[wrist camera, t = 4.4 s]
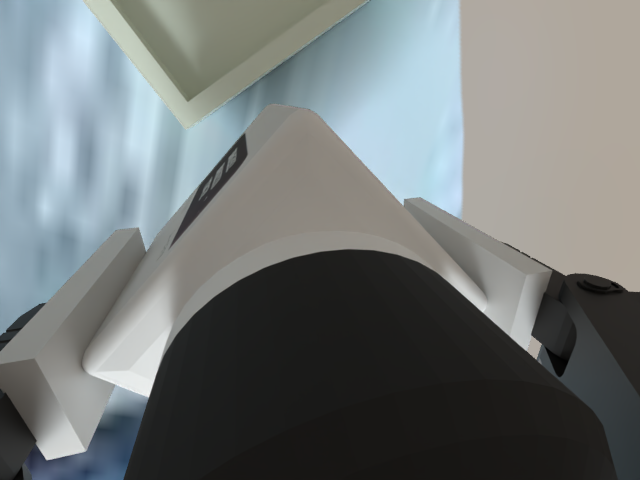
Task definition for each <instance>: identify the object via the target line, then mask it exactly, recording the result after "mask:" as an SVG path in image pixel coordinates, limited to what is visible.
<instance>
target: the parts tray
mask: <svg viewBox="0 0 640 480" xmlns="http://www.w3.org/2000/svg"><path fill="white" fill-rule="evenodd" d="M83 1H84V3H85V4H86V5H87V7H88V8H89V9H90V10H91V12H92V13H93V14H94V15H95V17H96V18H97V19H98V20H99V22H100V23H101V24H102V25H103V27H104V28H105V29H106V30H107V32H108V33H109V34H110V35H111V37H112V38H113V39H114V40H115V42H116V43H117V44H118V45H119V47H120V48H121V49H122V50H123V52H124V53H125V54H126V55H127V57H128V58H129V59H130V60H131V62H132V63H133V64H134V65H135V67H136V68H137V69H138V71H139V72H140V73H141V74H142V76H143V77H144V78H145V79H146V81H147V82H148V83H149V84H150V86H151V87H152V88H153V89H154V91H155V92H156V93H157V94H158V96H159V97H160V98H161V99H162V101H163V102H164V103H165V104H166V106H167V107H168V108H169V109H170V111H171V112H172V113H173V114H174V116H175V117H176V118H177V119H178V121H179V122H180V123H181V124H182V126H183V127H184V128H185V129H189V128H192V127H194V126H195V125H197V124H198V123H199V122H201V121H202V120H204V119H205V118H206V117H208V116H209V115H211V114H212V113H213V112H215V111H216V110H218V109H219V108H220V107H222V106H223V105H225V104H226V103H227V102H229V101H230V100H232V99H233V98H234V97H236V96H237V95H239V94H240V93H241V92H243V91H244V90H246V89H247V88H248V87H250V86H251V85H253V84H254V83H255V82H257V81H258V80H260V79H261V78H262V77H264V76H265V75H267V74H268V73H269V72H271V71H272V70H274V69H275V68H276V67H278V66H279V65H281V64H282V63H283V62H285V61H286V60H288V59H289V58H290V57H292V56H293V55H295V54H296V53H297V52H299V51H300V50H302V49H303V48H304V47H306V46H307V45H309V44H310V43H311V42H313V41H314V40H316V39H317V38H318V37H320V36H321V35H323V34H324V33H325V32H327V31H328V30H330V29H331V28H332V27H334V26H335V25H337V24H338V23H339V22H341V21H342V20H344V19H345V18H346V17H348V16H349V15H351V14H352V13H353V12H355V11H356V10H358V9H359V8H360V7H362V6H363V5H365V4H366V3H367V2H369V1H370V0H83Z"/></svg>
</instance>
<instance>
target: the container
mask: <svg viewBox="0 0 640 480" xmlns="http://www.w3.org/2000/svg"><path fill="white" fill-rule="evenodd" d="M487 301H488V300H487V298H486V296H485V294H484V293H483V291H482V290H481V289H480V288H479V287H478V286H477V285H476V284H475V283H474V282H473V280H472V279H471V278H470V277H469V276H468V275H467V274H466V273H465V272H464V271H463V270H462V269H461V268H460V266H459V265H458V264H457V263H456V262H455V261H454V260H453V259H452V258H451V257H450V256H449V255H448V254H447V253H446V251H445V250H444V249H443V248H442V247H441V246H440V245H439V244H438V243H437V242H436V241H435V240H434V239H433V238H432V236H431V235H430V234H429V233H428V232H427V231H426V230H425V229H424V228H423V227H422V226H421V225H420V224H419V222H418V221H417V220H416V219H415V218H414V217H413V216H412V215H411V214H410V213H409V212H408V211H407V210H406V209H405V207H404V206H403V205H402V204H401V203H400V202H399V201H398V200H397V199H396V198H395V197H394V196H393V195H392V193H391V192H390V191H389V190H388V189H387V188H386V187H385V186H384V185H383V184H382V183H381V182H380V181H379V180H378V178H377V177H376V176H375V175H374V174H373V173H372V172H371V171H370V170H369V169H368V168H367V167H366V166H365V164H364V163H363V162H362V161H361V160H360V159H359V158H358V157H357V156H356V155H355V154H354V153H353V152H352V151H351V149H350V148H349V147H348V146H347V145H346V144H345V143H344V142H343V141H342V140H341V139H340V138H339V137H338V135H337V134H336V133H335V132H334V131H333V130H332V129H331V128H330V127H329V126H328V125H327V124H326V123H325V122H324V120H323V119H322V118H321V117H320V116H319V115H318V114H316V113H314V112H313V111H311V110H310V109H305V108H298V107H292V106H286V105H279V104H269V105H268V106H266V107H265V108H264V109H263V110H262V112H261V113H260V114H259V115H258V116H257V117H256V119H255V120H254V121H253V122H252V123H251V125H250V126H249V127H248V128H247V129H246V130H245V132H244V133H243V134H242V135H241V136H240V138H239V139H238V140H237V141H236V142H235V143H234V145H233V146H232V147H231V148H230V149H229V150H228V152H227V153H226V154H225V155H224V156H223V158H222V159H221V160H220V161H219V162H218V163H217V165H216V166H215V167H214V168H213V169H212V171H211V172H210V173H209V174H208V175H207V176H206V178H205V179H204V180H203V181H202V182H201V184H200V185H199V186H198V187H197V188H196V189H195V191H194V192H193V193H192V194H191V195H190V196H189V198H188V199H187V200H186V201H185V202H184V204H183V205H182V206H181V207H180V208H179V209H178V211H177V212H176V213H175V214H174V215H173V217H172V218H171V219H170V220H169V221H168V222H167V224H166V225H165V226H164V227H163V228H162V229H161V231H160V232H159V233H158V234H157V236H156V238H155V239H154V241H153V242H152V244H151V246H150V247H149V249H148V250H147V252H146V254H145V255H144V257H143V258H142V260H141V262H140V263H139V265H138V267H137V268H136V270H135V271H134V273H133V275H132V276H131V278H130V279H129V281H128V283H127V284H126V286H125V288H124V289H123V291H122V292H121V294H120V296H119V297H118V299H117V300H116V302H115V304H114V305H113V307H112V308H111V310H110V312H109V313H108V315H107V317H106V318H105V320H104V321H103V323H102V325H101V326H100V328H99V329H98V331H97V333H96V334H95V336H94V337H93V339H92V341H91V342H90V344H89V346H88V347H87V349H86V350H85V353H84V355H83V359H82V366H83V369H84V370H85V371H86V372H87V373H89V374H90V375H92V376H95V377H97V378H100V379H102V380H105V381H108V382H110V383H113V384H115V385H118V386H121V387H123V388H126V389H128V390H131V391H134V392H136V393H139V394H141V395H144V396H146V397H149V399H148V402H147V406H146V409H145V412H144V415H143V418H142V422H141V425H140V428H139V431H138V435H137V438H136V441H135V444H134V447H133V451H132V454H131V457H130V460H129V464H128V467H127V470H126V473H125V476H124V480H618V478H617V474H616V471H615V467H614V463H613V459H612V456H611V452H610V448H609V444H608V441H607V437H606V434H605V430H604V427H603V424H602V423H601V421H600V420H599V419H598V417H597V416H596V414H595V413H594V411H593V410H592V409H591V408H590V407H589V406H588V405H586V404H585V403H584V402H583V401H582V400H581V399H580V398H579V397H577V396H576V395H575V394H574V393H573V392H572V391H571V390H570V389H568V388H567V387H566V386H565V385H564V384H563V383H562V382H561V381H559V380H558V379H557V378H556V377H555V376H554V375H553V374H551V373H550V372H549V371H548V370H547V369H546V368H545V367H544V366H542V365H541V364H540V363H539V362H538V361H537V360H536V359H535V358H533V357H532V356H531V355H530V354H529V353H528V352H527V351H526V350H524V349H523V348H522V347H521V346H520V345H519V344H518V343H517V342H515V341H514V340H513V339H512V338H511V337H510V336H509V335H508V334H506V333H505V332H504V331H503V330H502V329H501V328H500V327H499V326H497V325H496V324H495V323H494V322H493V321H492V320H491V319H490V318H488V317H487V316H486V315H485V314H484V313H483V311H484V310H485V309H486V306H487Z"/></svg>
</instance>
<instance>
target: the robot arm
mask: <svg viewBox="0 0 640 480" xmlns="http://www.w3.org/2000/svg"><path fill="white" fill-rule="evenodd" d="M404 207H405V209H406V210H407V211H408V212H409V213H410V214H411V215H412V216H413V217H414V218H415V219H416V220H417V221H418V222H419V224H420V225H421V226H422V227H423V228H424V229H425V230H426V231H427V232H428V233H429V234H430V235H431V236H432V238H433V239H434V240H435V241H436V242H437V243H438V244H439V245H440V246H441V247H442V248H443V249H444V250H445V251H446V253H447V254H448V255H449V256H450V257H451V258H452V259H453V260H454V261H455V262H456V263H457V264H458V265H459V266H460V268H461V269H462V270H463V271H464V272H465V273H466V274H467V275H468V276H469V277H470V278H471V279H472V280H473V282H474V283H475V284H476V285H477V286H478V287H479V288H480V289H481V290H482V291H483V293H484V294H485V296H486V298H487V300H488V301H487V306H486V309H485V310H484V311H483V313H484V314H485V315H486V316H487V317H488V318H490V319H491V320H492V321H493V322H494V323H495V324H496V325H497V326H499V327H500V328H501V329H502V330H503V331H504V332H505V333H506V334H508V335H509V336H510V337H511V338H512V339H513V340H514V341H515V342H517V343H518V344H519V345H520V346H521V347H522V348H523V349H524V350H526V351H527V349H528V346H529V343H530V339H531V336H533V337H534V338H536V339H537V340H538V341H539V342H540V343H542V345H541V348H540V351H539V354H538V357H537V361H538V362H539V363H540V364H541V365H542V366H544V367H545V368H546V369H547V370H548V371H549V372H550V373H551V374H553V375H554V376H555V377H556V378H557V379H558V380H559V381H561V382H562V383H563V384H564V385H565V386H566V387H567V388H568V389H570V390H571V391H572V392H573V393H574V394H575V395H576V396H577V397H579V398H580V399H581V400H582V401H583V402H584V403H585V404H586V405H588V406H589V407H590V408H591V409H592V410H593V411H594V413H595V414H596V416H597V417H598V419H599V420H600V421H601V423H602V424H603V427H604V430H605V434H606V437H607V441H608V444H609V448H610V452H611V456H612V459H613V463H614V467H615V471H616V474H617V478H618V480H640V292H628V291H627V290H626V289H625V288H623V287H622V286H621V285H619V284H618V283H616V282H613V281H611V280H608V279H605V278H602V277H599V276H594V275H589V274H576V273H575V274H570V275H567V276H565V275H563V274H561V273H559V272H558V271H556V270H554V269H552V268H550V267H549V266H546V265H545V264H543V263H541V262H539V261H538V260H536V259H534V258H530V256H528V255H527V254H525V253H523V252H520V251H519V250H518V249H515V248H514V247H512V246H510V245H508V244H506V243H503V242H500V241H498V240H496V239H494V238H492V237H491V236H489V235H487V234H485V233H483V232H482V231H480V230H478V229H476V228H475V227H473V226H471V225H469V224H467V223H465V222H464V221H462V220H460V219H458V218H457V217H455V216H453V215H451V214H449V213H448V212H446V211H444V210H442V209H440V208H439V207H437V206H435V205H433V204H431V203H430V202H428V201H426V200H424V199H422V198H420V197H419V198H410V199H404ZM145 254H146V250H145V247H144V243H143V240H142V237H141V233H140V230H139V228H129V229H120V230H116V231H115V232H114V233H113V234H112V235H111V236H110V237H109V238H108V239H107V240H106V241H105V242H104V243H103V244H102V245H101V246H100V248H99V249H98V250H97V251H96V252H95V253H94V254H93V255H92V256H91V257H90V258H89V259H88V260H87V261H86V262H85V263H84V264H83V265H82V266H81V267H80V268H79V270H78V271H77V272H76V273H75V274H74V275H73V276H72V277H71V278H70V279H69V280H68V281H67V282H66V283H65V284H64V285H63V286H62V287H61V288H60V289H59V290H58V292H57V293H56V294H55V295H54V296H53V297H52V298H51V299H50V300H49V301H48V302H47V303H42V304H39V305H38V306H36V307H34V308H33V309H31V310H30V311H28V312H26V313H25V314H23V315H22V316H20V317H19V318H18V319H17V320H16V321H15V322H14V323H13V324H12V325H11V326H10V327H9V328H8V329H7V330H6V333H3V334H2V335H1V336H0V480H32V476H31V473H30V472H29V470H28V468H27V467H26V465H25V464H24V462H25V460H26V458H27V457H28V455H29V453H30V451H31V450H32V448H33V446H34V445H35V443H36V444H37V446H38V448H39V449H40V451H41V452H42V454H43V455H44V457H45V458H46V460H50V459H55V458H59V457H64V456H68V455H72V454H77V453H81V452H86V450H87V448H88V446H89V443H90V441H91V439H92V437H93V434H94V432H95V430H96V428H97V425H98V423H99V421H100V419H101V416H102V414H103V412H104V409H105V407H106V405H107V403H108V400H109V398H110V396H111V394H112V391H113V389H114V387H115V384H113V383H110V382H108V381H105V380H102V379H100V378H97V377H95V376H92V375H90V374H89V373H87V372H86V371H85V370H84V369H83V366H82V359H83V355H84V353H85V350H86V349H87V347H88V346H89V344H90V342H91V341H92V339H93V337H94V336H95V334H96V333H97V331H98V329H99V328H100V326H101V325H102V323H103V321H104V320H105V318H106V317H107V315H108V313H109V312H110V310H111V308H112V307H113V305H114V304H115V302H116V300H117V299H118V297H119V296H120V294H121V292H122V291H123V289H124V288H125V286H126V284H127V283H128V281H129V279H130V278H131V276H132V275H133V273H134V271H135V270H136V268H137V267H138V265H139V263H140V262H141V260H142V258H143V257H144V255H145Z"/></svg>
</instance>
